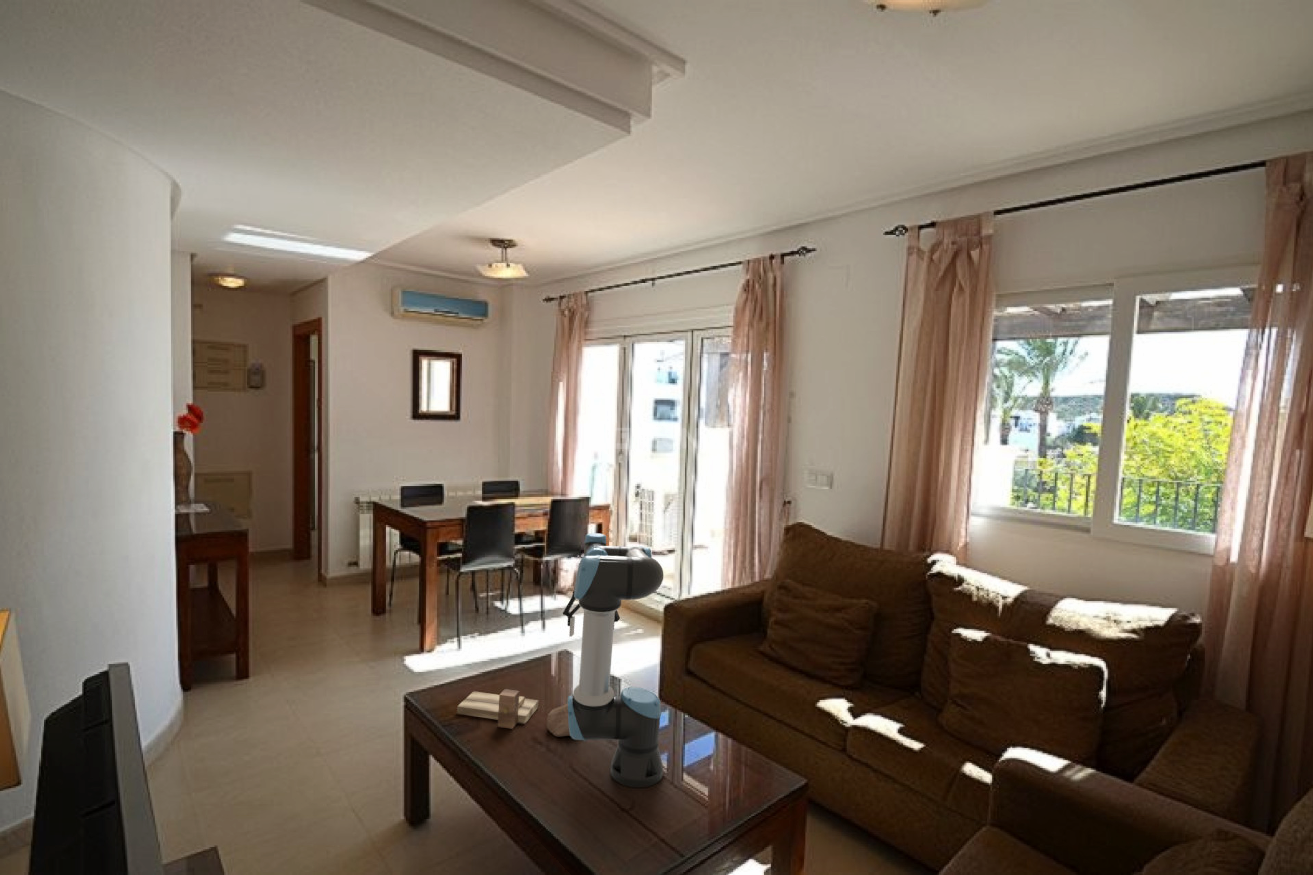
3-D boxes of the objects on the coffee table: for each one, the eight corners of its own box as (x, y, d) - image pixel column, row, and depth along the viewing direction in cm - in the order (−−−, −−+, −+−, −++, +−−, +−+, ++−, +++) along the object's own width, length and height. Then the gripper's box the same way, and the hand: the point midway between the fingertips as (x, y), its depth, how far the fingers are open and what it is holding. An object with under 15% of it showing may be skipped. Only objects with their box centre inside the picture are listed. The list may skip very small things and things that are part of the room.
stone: (587, 736, 205) (587, 703, 210) (583, 734, 197) (583, 699, 202) (549, 739, 205) (550, 706, 210) (543, 737, 197) (544, 702, 202)
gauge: (511, 729, 202) (513, 697, 202) (497, 727, 203) (498, 695, 202) (528, 709, 216) (530, 678, 216) (514, 707, 217) (516, 677, 217)
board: (525, 723, 207) (525, 715, 207) (457, 713, 211) (457, 706, 211) (538, 707, 218) (538, 700, 218) (473, 698, 222) (473, 691, 222)
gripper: (630, 579, 222) (626, 638, 223) (563, 571, 227) (560, 629, 228) (625, 584, 215) (621, 646, 215) (556, 576, 220) (552, 636, 220)
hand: (589, 637), depth 222 cm, fingers open, 13 cm apart
